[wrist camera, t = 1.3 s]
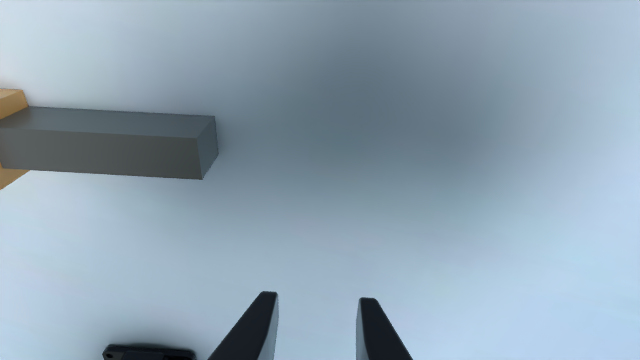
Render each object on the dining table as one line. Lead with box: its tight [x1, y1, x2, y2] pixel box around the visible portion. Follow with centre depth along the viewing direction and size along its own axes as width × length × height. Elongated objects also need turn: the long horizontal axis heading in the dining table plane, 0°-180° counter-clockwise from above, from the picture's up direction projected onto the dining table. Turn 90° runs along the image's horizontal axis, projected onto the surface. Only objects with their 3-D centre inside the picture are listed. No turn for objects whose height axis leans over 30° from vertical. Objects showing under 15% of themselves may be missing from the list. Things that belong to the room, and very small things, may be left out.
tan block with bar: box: [0, 89, 218, 190], centre depth 17 cm, size 4×13×3 cm, turn 88°
